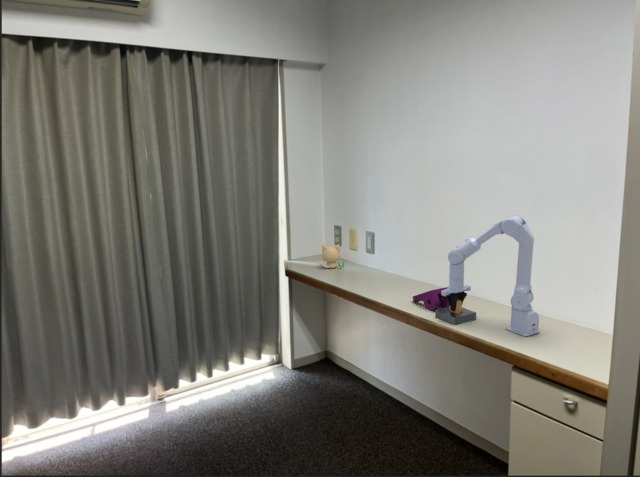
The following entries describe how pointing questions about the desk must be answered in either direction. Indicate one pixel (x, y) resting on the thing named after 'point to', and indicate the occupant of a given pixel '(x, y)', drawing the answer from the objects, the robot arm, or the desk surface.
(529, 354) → the desk surface
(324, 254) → the kitten
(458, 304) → the orange-brown rectangular block
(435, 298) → the mounting bracket
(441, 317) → the grey slotted square block
